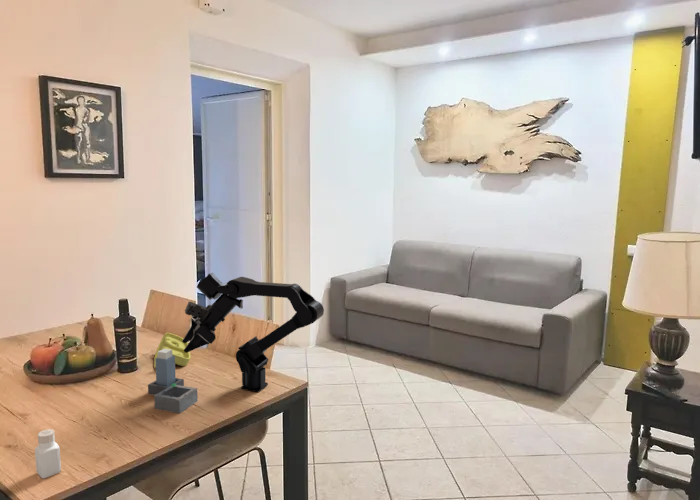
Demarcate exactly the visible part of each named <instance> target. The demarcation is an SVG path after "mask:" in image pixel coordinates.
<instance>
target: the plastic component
mask: <svg viewBox="0 0 700 500" xmlns="http://www.w3.org/2000/svg"><path fill="white" fill-rule="evenodd" d="M183 339H184V338H183V337H182V336H179V335H176V334H175V333H170V332H166V333H164V334H163V336H162V338H161V340H160V342H159V344H158V347H157V349H156V351H155V354H154V359H153V368H154V369H156V362H155V358H157V357H158V351H160V350H162V349H170V350H172V355H173V356H175V365H178V366H180V367H186V366H187V365H188V364H189V362H190V360H191V358H192V357H191V351H190V352H187V353H186V352H184V349H185V348H186V346H187V345H188V343H189V342H187V343H183V342H182V341H183Z"/></svg>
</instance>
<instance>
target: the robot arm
mask: <svg viewBox="0 0 700 500" xmlns="http://www.w3.org/2000/svg"><path fill="white" fill-rule="evenodd" d="M196 288H197V289H198V291H200V292H201V293H202V295H204V296H205V297H206V298H207V299H209V300H215V301H214V302H213V303H212V304H208V305H207V306H203V305H201V304H197V303H195V302H192V301H188V303H187V304H186V306H185V309H184V313H185V315H188V316H191V317H192V318H190V324H191V325H190V327H189V328H188V331H187V333H186V334H185V336H184V338H183V341H182V342H183V343H187V342H188V345H187V346H186V348H185V349H184V352H186V353H187V352H190V353H191V352H192V351H194V350H197V349H199V348H202V347H203V346H207V345H209V344H211V345H212V344H213V343H214V342H215V341H216V332H215V331H216V330H217V329H216V328H217V326H219V324H221V322H222V323H224V321H226V317H227V316H228V315H229V314H230V313H231V312H232V311H233V309H235V307H236V306H237V307H238V308H239V309H240V310H241V309H243V308H244V306H243V302H244V300H243V299H240V298H246V297H247V298H248V297H251V296H257V297H270V298H285V299H287V300H288V301H289V302H290V304H291V307H292V308H293V310H294V311H295V313H294V315H293V316H292V317H291V319H288V320H287V321H286V322H285V323H282V325H279V326H278V327H277V328H276V329H274V330H272V331H270V333H268V334H267V335H265V336H263V337H262V338H260V339H259V338H258V337H257V335H256V336H254V337H252V338H251V339H249V340H248V341H247V342H245V343H243V344H242V345H240V346H239V347H238V349H237V351H236V353H235V360H236V362H237V364H238V366H239V369H240V371H241V384H242V386H241V387H240V389H241V390H244V391H250V392H256V393H259V392H261V391H262V390H263V389H264V388H266V387H267V386H268V385H269V383H268V382H266V367H265V366H267V365H268V362H269V358H268V357H267V356H266V354H265V353H266V352H267V350H268V349H270V348H271V347H272V346H273V345H275V344H276V343H278V342H280V341H281V340H283V339H284V338H286V337H287V336H289V335H290V334H292V333H293V332H295V331H297V330H298V329H301V328H304V327H308V326H309V325H312V324H313V323H315V322H317V321H318V320H319V319H320V318H321V317H323V316H324V312H325V310H324V306H323V304H322V303H321V302H320V301H318V300H316V299H315V297H313V296H312V295H311V294H310V293H308V292H307V291H306V290H305V289H303V287H302V286H300V285H299V284H298V283H280V282H279V283H278V282H266V281H265V282H263V281H257V280H255V279H252V278H250V277H249V278H248V277H246V276H239V277H237V278H233V279H230V280H228V281H227V282H224V283H223V281H221V280H220V279H219V278H218V277H217V276H216V274H214V273H213V272H211V273H208V274H207V275H206V276H205V277H204V278H203V279H202V280H200V281H199V282H198V284H197V285H196Z"/></svg>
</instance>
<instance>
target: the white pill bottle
mask: <svg viewBox="0 0 700 500" xmlns="http://www.w3.org/2000/svg"><path fill="white" fill-rule="evenodd" d="M55 434H56V433H55V430H54V429H52V428H51V429H50V428H48V429H43V430H42V431H41V430H40V432H39V433H37V442H38V445H37V446H36V447H34V456H35V468H36V469H35V470H36V473H37V474H38V475H39V477H40V478H41V479H47V478H48V477H52V476H54V475H56V474H59V473H60V472H61V470H62V467H61V450H60V446H59V444H58V443H57V442H56V441H55V440H56V438H55V437H56V436H55Z"/></svg>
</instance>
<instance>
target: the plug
mask: <svg viewBox="0 0 700 500" xmlns="http://www.w3.org/2000/svg"><path fill="white" fill-rule="evenodd" d="M155 362H156V368H155V381H156V385H161V386H167V387H168V386H170V385H171V384H173V383H175V382H176V378H177V377H176V364H175V356H173V355H172V350H170V349H162V350H160V351H158V357H157V358H155Z"/></svg>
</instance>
